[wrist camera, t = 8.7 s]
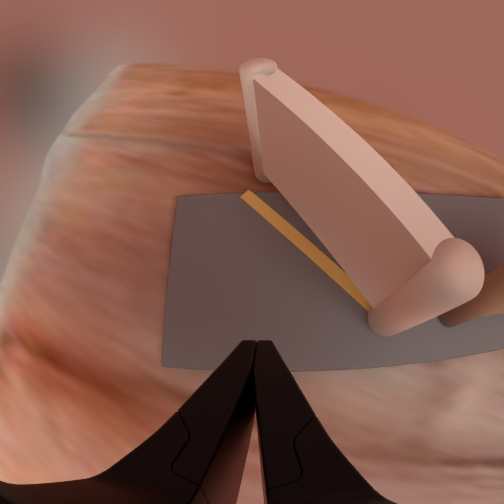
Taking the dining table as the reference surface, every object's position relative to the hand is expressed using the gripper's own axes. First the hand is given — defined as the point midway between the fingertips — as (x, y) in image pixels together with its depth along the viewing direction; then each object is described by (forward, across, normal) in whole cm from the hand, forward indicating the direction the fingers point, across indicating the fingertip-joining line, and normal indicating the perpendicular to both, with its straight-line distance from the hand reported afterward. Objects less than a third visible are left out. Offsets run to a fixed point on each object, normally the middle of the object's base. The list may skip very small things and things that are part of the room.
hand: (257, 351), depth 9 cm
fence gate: (+9, -3, 0) cm, 10 cm away
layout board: (+9, -6, +2) cm, 11 cm away
